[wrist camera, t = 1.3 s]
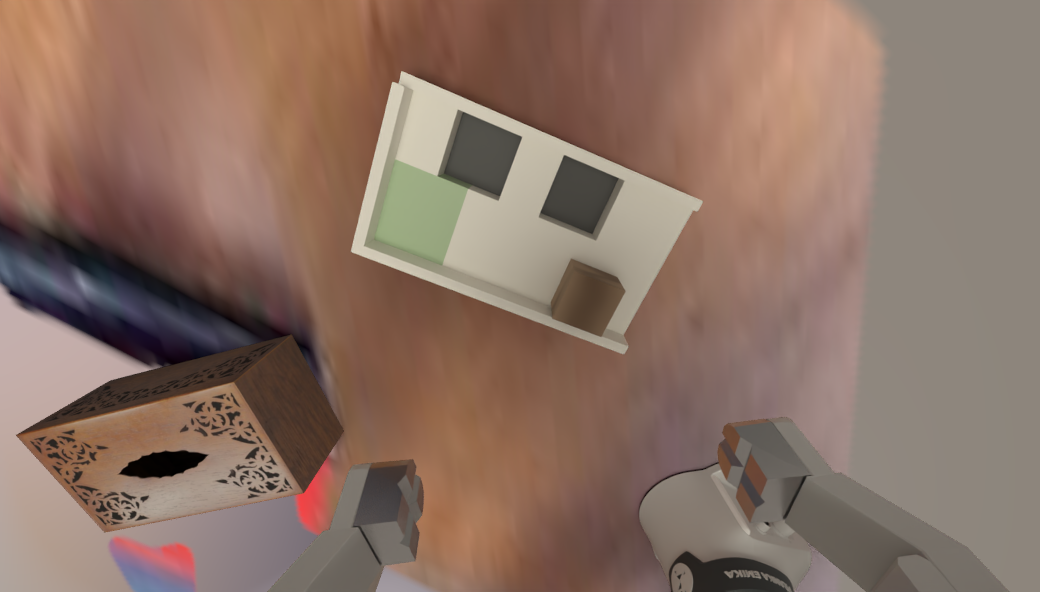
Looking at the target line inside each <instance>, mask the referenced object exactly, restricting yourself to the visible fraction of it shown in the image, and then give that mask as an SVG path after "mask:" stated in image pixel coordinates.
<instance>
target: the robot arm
mask: <svg viewBox="0 0 1040 592" xmlns="http://www.w3.org/2000/svg"><path fill="white" fill-rule="evenodd" d="M722 433H723V435H724V437H725V438H726V439H725V440H723V441H722V442H721V443H720V444H719V447H718V452H717V453H718V460H719V463H718V464H716V465H714V466H711V467H709V468H707V469H705V470H700V471H693V472H687V473H682V474H678V475H675V476H673V477H670V478H668V479H666V480H664V481H662V482H661V483H659V484H658V485H656V486H655V487H654V488H653V489H652V490H651V491H650V492H649V493H648V494H647V495H646V496H645V498H644V500H643V501H642V504H641V506H640V511H639V519H640V523H641V526H642V528H643V530H644V531H645V533H646V535H647V536H648V538H649V540H650V542H651V544H652V548H653V552H654V554H655V557H656V558H657V559H658V560H659V562H660V564H661V567H662V569H663V571H664V574H665V576H666V578H667V581H668V583H669V586H670V588H671V592H794V591H795V590H796V588H797V587H798V585H799V584H800V582H801V581H802V579H803V578H804V577H805V575H806V573H807V572H808V570H809V568H810V565H811V561H812V554H811V549H810V547H809V545H808V543H809V544H810V545H812V546H813V547H814V548H815V549H816V550H818V551H819V552H820V553H821V554H822V555H823V556H825V557H826V558H827V559H828V560H829V561H831V562H832V563H833V564H834V565H835V566H836V567H838V568H839V569H840V570H841V571H842V572H844V573H845V574H846V575H847V576H848V577H850V578H851V579H852V580H853V581H854V582H856V583H857V584H858V585H859V586H860V587H861V588H862V589H864V590H865V591H866V592H1009V591H1008V590H1007V588H1005V586H1004V585H1003V584H1002V583H1001V582H1000V581H999V580H998V579H997V578H996V577H995V576H994V575H993V574H992V573H991V572H990V570H989V569H987V567H986V566H985V565H984V564H983V563H982V562H981V561H980V560H979V559H978V558H977V557H976V556H975V555H974V554H973V552H972V551H971V550H970V549H969V548H968V547H966V546H964V545H963V544H961V543H959V542H958V541H956V540H954V539H953V538H951V537H949V536H947V535H946V534H944V533H942V532H941V531H939V530H937V529H936V528H934V527H932V526H930V525H929V524H927V523H925V522H924V521H922V520H920V519H918V518H917V517H915V516H913V515H912V514H910V513H908V512H907V511H905V510H903V509H902V508H900V507H898V506H896V505H895V504H893V503H891V502H890V501H888V500H886V499H885V498H883V497H881V496H879V495H878V494H876V493H874V492H873V491H871V490H869V489H868V488H866V487H864V486H862V485H861V484H859V483H857V482H856V481H854V480H852V479H851V478H849V477H847V476H845V475H844V474H842V473H834V472H833V471H832V469H831V468H830V467H829V466H828V464H827V463H826V462H825V461H824V459H823V458H822V457H821V456H820V454H819V453H818V452H817V451H816V450H815V448H814V447H813V446H812V445H811V443H810V442H809V441H808V440H807V438H806V437H805V436H804V435H803V433H802V432H801V431H800V430H799V429H798V427H797V426H796V425H795V424H794V422H793V421H792V420H791V419H789V418H787V417H779V418H772V419H759V420H751V421H743V422H735V423H728V424H726V425H725V426H724V429H723V432H722ZM415 472H416V465H415V463H414V460H413V459H410V460H399V461H388V462H377V463H366V464H357V465H353V466H352V467H351V469H350V470H349V472H348V475H347V478H346V481H345V484H344V487H343V490H342V493H341V496H340V499H339V502H338V505H337V508H336V511H335V514H334V517H333V520H332V523H331V526H330V529H329V530H325V531H323V532H322V533H321V534H320V535H319V536H318V537H317V538H316V539H315V540H314V541H313V543H312V544H311V545H310V546H309V547H308V548H307V549H306V550H305V551H304V552H303V554H301V556H300V557H299V558H298V559H297V560H296V561H295V562H294V563H293V564H292V565H291V566H290V568H289V569H288V570H287V571H286V572H285V573H284V574H283V575H282V576H281V577H280V579H278V581H277V582H276V583H275V584H274V585H273V586H272V587H271V588H270V589H269V590H268V591H267V592H366V591H367V590H368V588H369V587H370V585H371V584H372V582H373V581H374V579H375V577H376V576H377V574H378V573H379V571H380V570H381V566H385V565H392V564H399V563H406V562H413V561H415V560H416V553H417V547H418V540H419V531H418V528H417V526H416V522H417V521H418V520H419V518H420V517H421V516H422V512H423V504H424V491H423V485H422V481H421V478H420V477H419V476H417V475H415ZM807 542H808V543H807Z"/></svg>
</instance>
